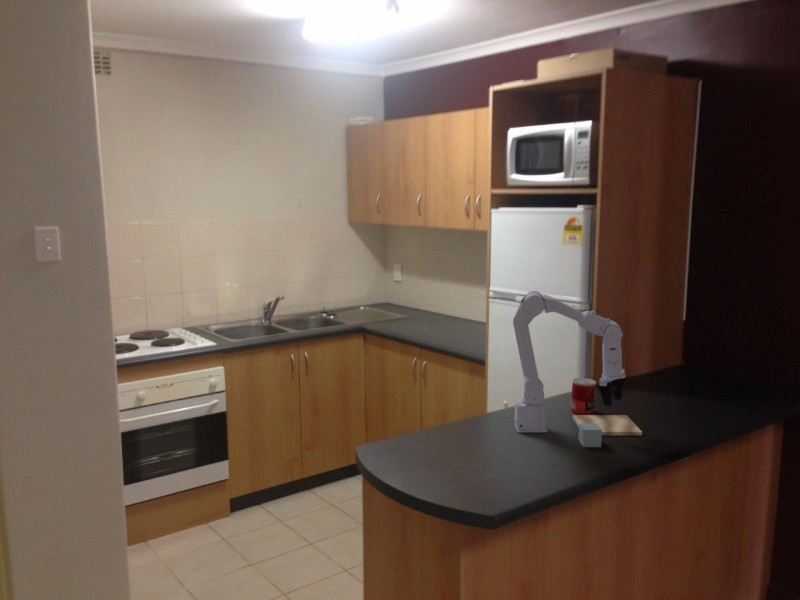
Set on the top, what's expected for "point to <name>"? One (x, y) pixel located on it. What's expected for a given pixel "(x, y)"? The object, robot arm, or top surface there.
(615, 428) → the board
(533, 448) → the top surface
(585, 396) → the canned food
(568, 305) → the robot arm
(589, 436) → the cube
